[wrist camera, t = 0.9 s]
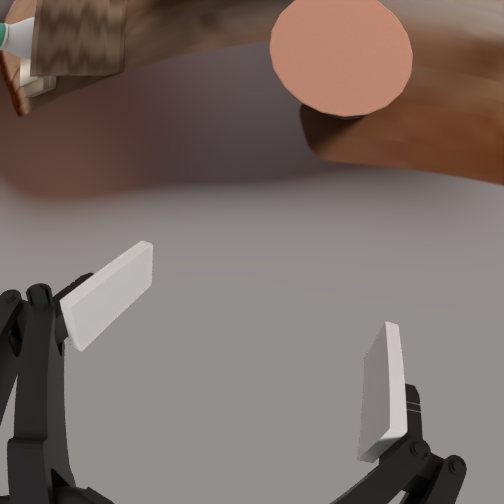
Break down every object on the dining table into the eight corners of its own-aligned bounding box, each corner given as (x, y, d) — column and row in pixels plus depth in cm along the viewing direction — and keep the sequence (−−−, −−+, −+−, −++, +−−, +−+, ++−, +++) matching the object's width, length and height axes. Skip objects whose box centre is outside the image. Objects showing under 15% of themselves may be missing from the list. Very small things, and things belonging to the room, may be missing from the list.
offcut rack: (38, 27, 40) (-20, 25, 26) (129, -19, 33) (62, -42, 19) (35, 100, 48) (-26, 110, 34) (123, 71, 41) (47, 67, 27)
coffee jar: (292, 104, 37) (252, 92, 21) (314, 32, 32) (288, -25, 16) (370, 132, 35) (390, 139, 20) (393, 59, 30) (426, 16, 15)
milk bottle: (66, 32, 40) (-18, 29, 22) (93, 16, 37) (4, 4, 20) (67, 66, 43) (-20, 69, 25) (94, 51, 40) (0, 47, 23)
